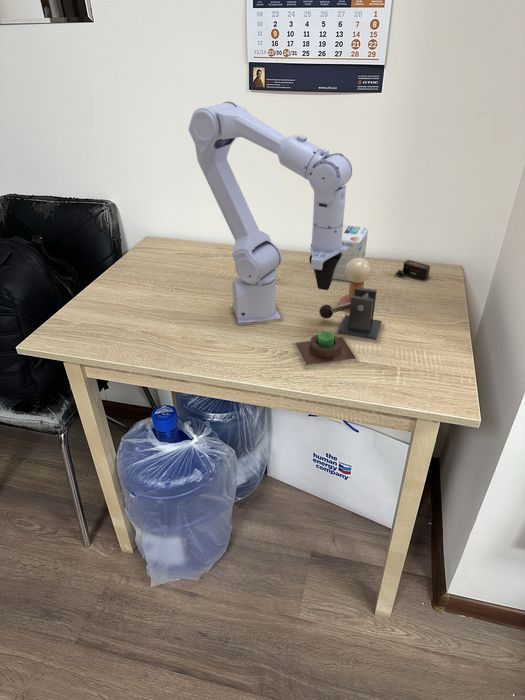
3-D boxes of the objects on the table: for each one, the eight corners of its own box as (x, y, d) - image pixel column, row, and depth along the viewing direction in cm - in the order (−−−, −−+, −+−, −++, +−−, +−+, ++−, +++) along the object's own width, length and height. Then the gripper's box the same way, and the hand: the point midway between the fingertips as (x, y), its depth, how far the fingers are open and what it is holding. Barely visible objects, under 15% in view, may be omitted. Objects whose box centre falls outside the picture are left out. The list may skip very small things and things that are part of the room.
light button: (320, 348, 101) (320, 341, 100) (315, 340, 104) (315, 332, 103) (335, 346, 102) (336, 339, 101) (330, 338, 104) (331, 330, 103)
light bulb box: (340, 262, 140) (343, 224, 134) (364, 266, 138) (369, 227, 132) (329, 278, 132) (332, 238, 126) (355, 282, 130) (359, 242, 124)
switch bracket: (338, 335, 110) (341, 298, 105) (345, 319, 115) (348, 283, 110) (376, 341, 107) (381, 304, 102) (381, 325, 113) (386, 289, 108)
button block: (306, 367, 100) (307, 356, 99) (295, 345, 106) (296, 334, 105) (355, 360, 102) (356, 349, 100) (341, 339, 108) (342, 328, 107)
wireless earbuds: (403, 270, 136) (405, 258, 134) (428, 277, 132) (431, 265, 130) (395, 276, 133) (396, 264, 131) (420, 283, 129) (423, 272, 127)
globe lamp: (345, 315, 117) (350, 266, 110) (336, 302, 122) (340, 254, 115) (372, 312, 118) (378, 263, 111) (362, 299, 123) (367, 251, 116)
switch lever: (321, 322, 112) (315, 310, 111) (324, 316, 114) (319, 304, 113) (370, 309, 106) (365, 296, 105) (373, 302, 108) (368, 290, 107)
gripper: (339, 239, 91) (334, 307, 98) (356, 213, 102) (350, 276, 110) (301, 234, 93) (298, 301, 100) (322, 209, 104) (318, 271, 112)
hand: (323, 288), depth 105 cm, fingers closed
